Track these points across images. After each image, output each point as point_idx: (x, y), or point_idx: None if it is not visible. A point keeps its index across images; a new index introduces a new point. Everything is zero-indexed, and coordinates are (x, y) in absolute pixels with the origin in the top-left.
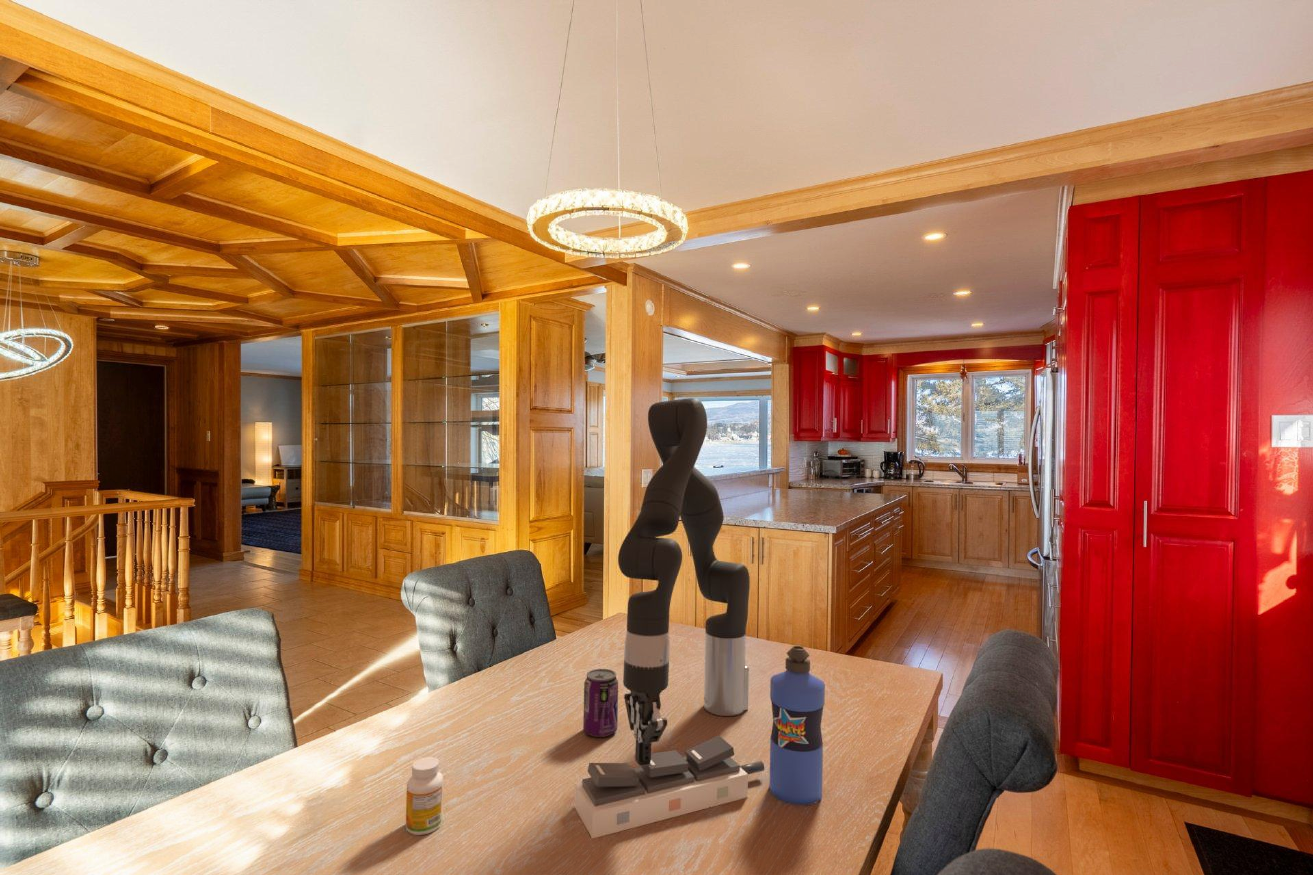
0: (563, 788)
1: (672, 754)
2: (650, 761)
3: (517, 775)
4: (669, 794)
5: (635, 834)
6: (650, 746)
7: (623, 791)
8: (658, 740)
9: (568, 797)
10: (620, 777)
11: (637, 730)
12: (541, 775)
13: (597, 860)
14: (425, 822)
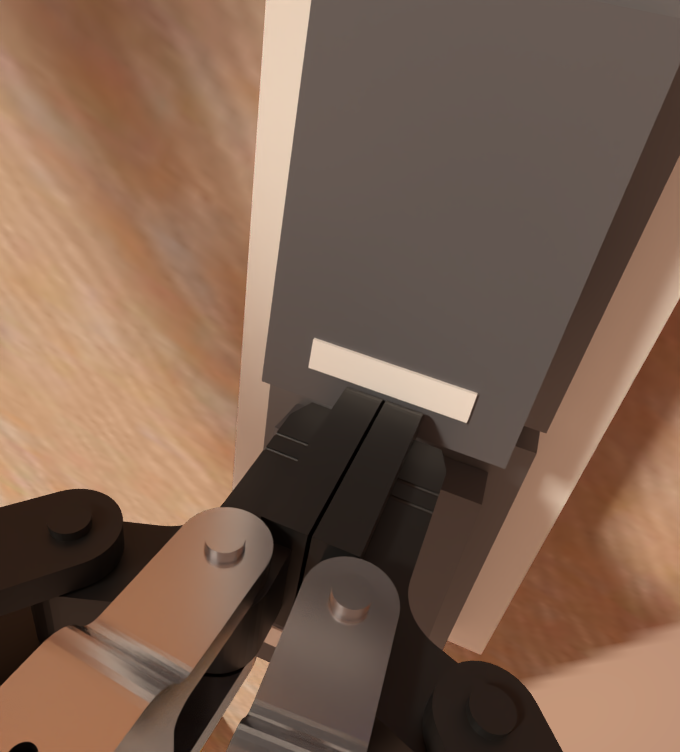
0: (146, 422)
1: (390, 71)
2: (422, 416)
3: (25, 467)
4: (677, 299)
5: (616, 447)
6: (411, 568)
7: (473, 546)
8: (546, 724)
9: (209, 447)
10: (436, 618)
11: (216, 718)
12: (42, 420)
13: (623, 625)
14: (201, 749)
